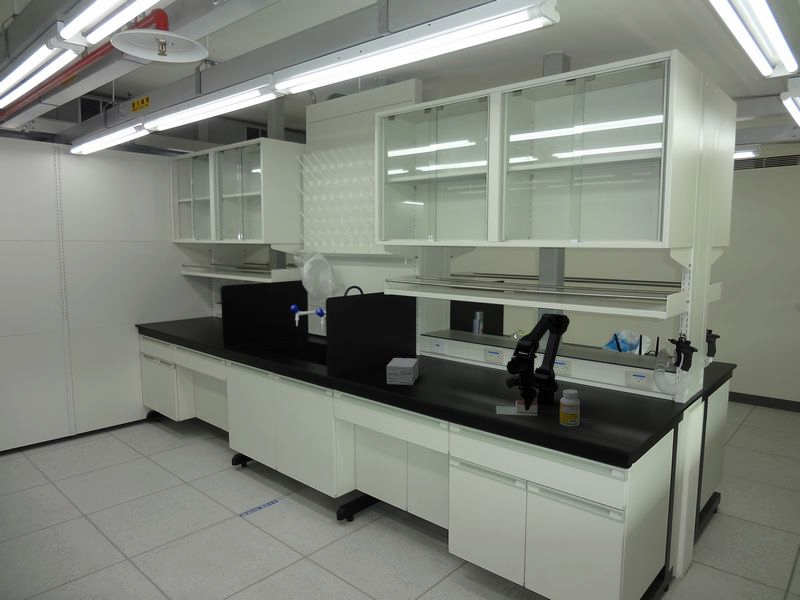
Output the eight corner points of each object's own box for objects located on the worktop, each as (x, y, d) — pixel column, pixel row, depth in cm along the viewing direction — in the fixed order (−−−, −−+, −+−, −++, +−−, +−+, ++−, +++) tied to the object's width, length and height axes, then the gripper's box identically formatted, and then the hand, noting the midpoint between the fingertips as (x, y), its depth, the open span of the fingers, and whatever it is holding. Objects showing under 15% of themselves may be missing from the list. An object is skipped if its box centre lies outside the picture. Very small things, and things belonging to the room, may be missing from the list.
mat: (535, 408, 218) (535, 407, 218) (537, 416, 209) (537, 415, 209) (495, 407, 221) (495, 406, 221) (496, 415, 211) (496, 413, 211)
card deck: (535, 408, 216) (535, 400, 216) (537, 412, 211) (537, 404, 210) (515, 407, 217) (515, 400, 217) (516, 411, 212) (516, 404, 212)
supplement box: (393, 375, 275) (393, 357, 274) (418, 376, 272) (418, 358, 271) (386, 384, 258) (386, 365, 257) (412, 385, 256) (412, 366, 255)
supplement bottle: (565, 419, 205) (566, 387, 204) (583, 424, 200) (583, 391, 198) (556, 424, 200) (556, 391, 199) (573, 429, 195) (574, 395, 194)
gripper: (505, 364, 222) (505, 400, 224) (507, 375, 204) (507, 414, 206) (532, 364, 221) (532, 401, 223) (537, 376, 202) (536, 416, 204)
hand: (526, 408), depth 214 cm, fingers closed on card deck, 5 cm apart
